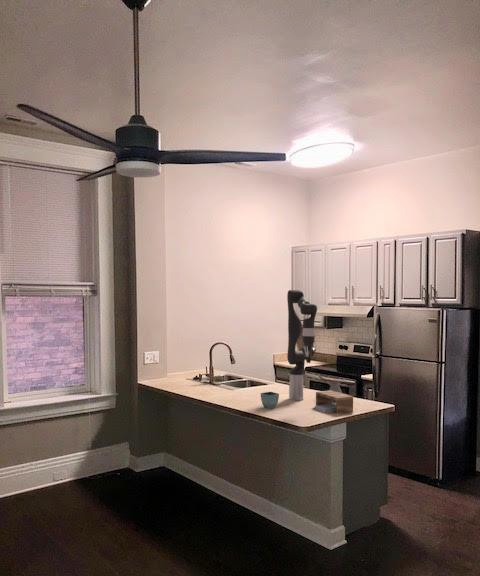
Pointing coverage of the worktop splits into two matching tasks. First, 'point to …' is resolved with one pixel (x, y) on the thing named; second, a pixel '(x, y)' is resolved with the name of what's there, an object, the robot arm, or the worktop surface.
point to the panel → (326, 408)
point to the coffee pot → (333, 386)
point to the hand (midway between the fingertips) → (308, 362)
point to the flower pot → (269, 399)
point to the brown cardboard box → (342, 400)
